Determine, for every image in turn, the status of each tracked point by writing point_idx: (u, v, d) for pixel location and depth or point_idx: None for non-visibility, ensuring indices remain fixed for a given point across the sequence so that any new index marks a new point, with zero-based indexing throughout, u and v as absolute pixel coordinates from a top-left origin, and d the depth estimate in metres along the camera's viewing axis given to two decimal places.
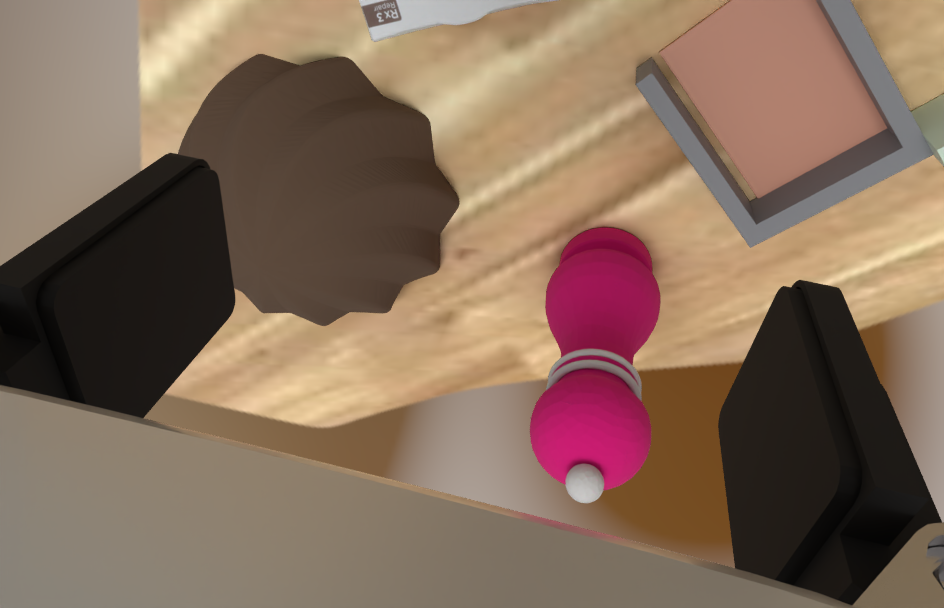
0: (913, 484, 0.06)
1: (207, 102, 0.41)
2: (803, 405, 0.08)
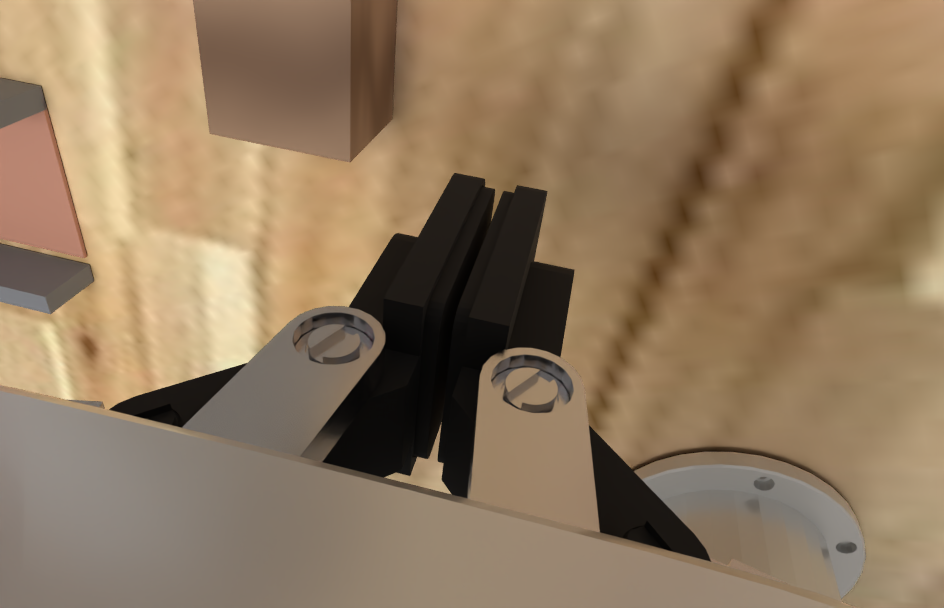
0: (504, 316, 0.08)
1: None
2: None
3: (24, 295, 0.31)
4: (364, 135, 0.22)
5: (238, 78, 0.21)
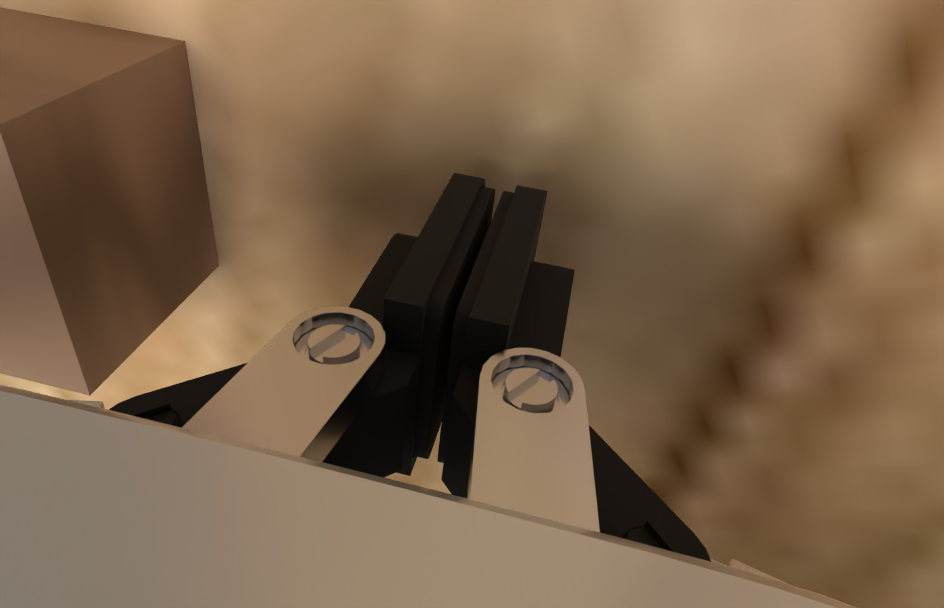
0: (503, 317, 0.08)
1: None
2: None
3: None
4: (131, 331, 0.12)
5: None
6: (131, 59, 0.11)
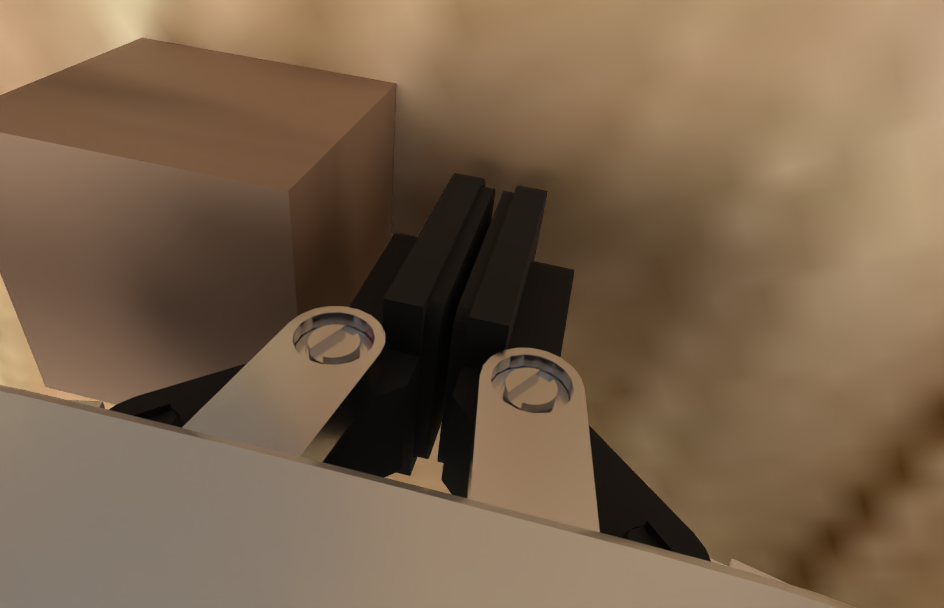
0: (503, 317, 0.08)
1: None
2: None
3: None
4: None
5: (80, 310, 0.10)
6: (360, 107, 0.11)
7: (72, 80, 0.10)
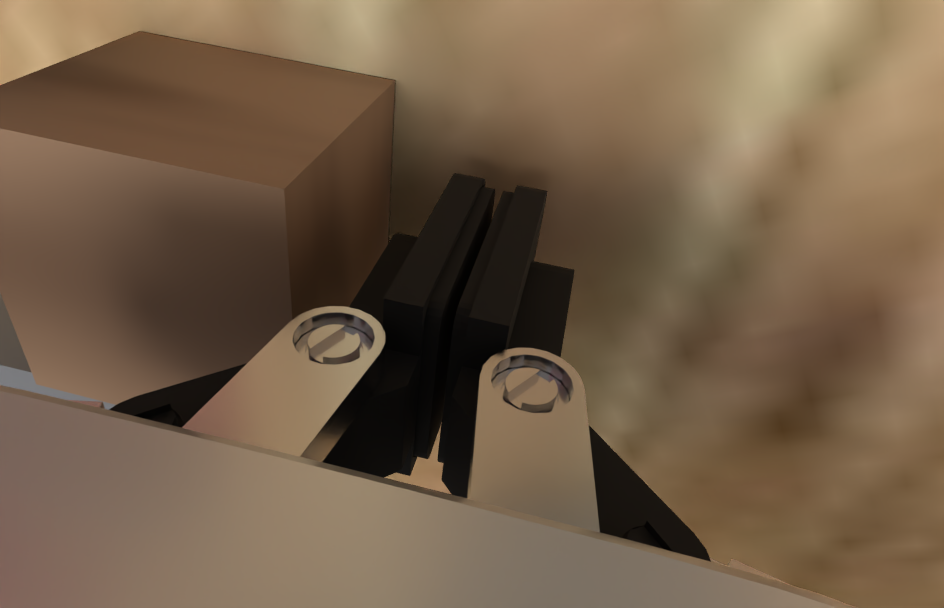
0: (504, 317, 0.08)
1: None
2: None
3: None
4: None
5: (70, 307, 0.10)
6: (357, 105, 0.11)
7: (65, 74, 0.10)
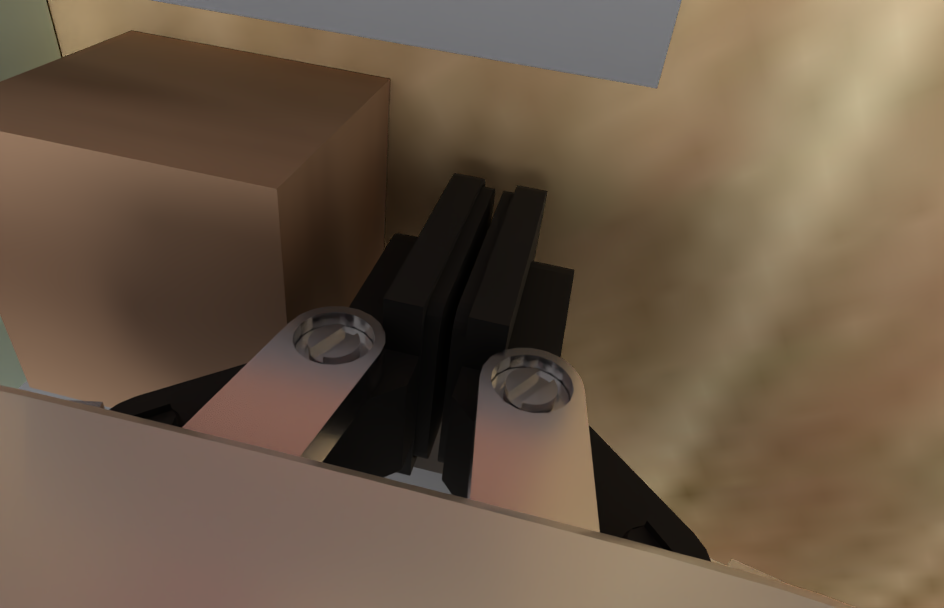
0: (504, 317, 0.08)
1: None
2: None
3: None
4: None
5: (63, 309, 0.10)
6: (352, 104, 0.11)
7: (56, 74, 0.10)
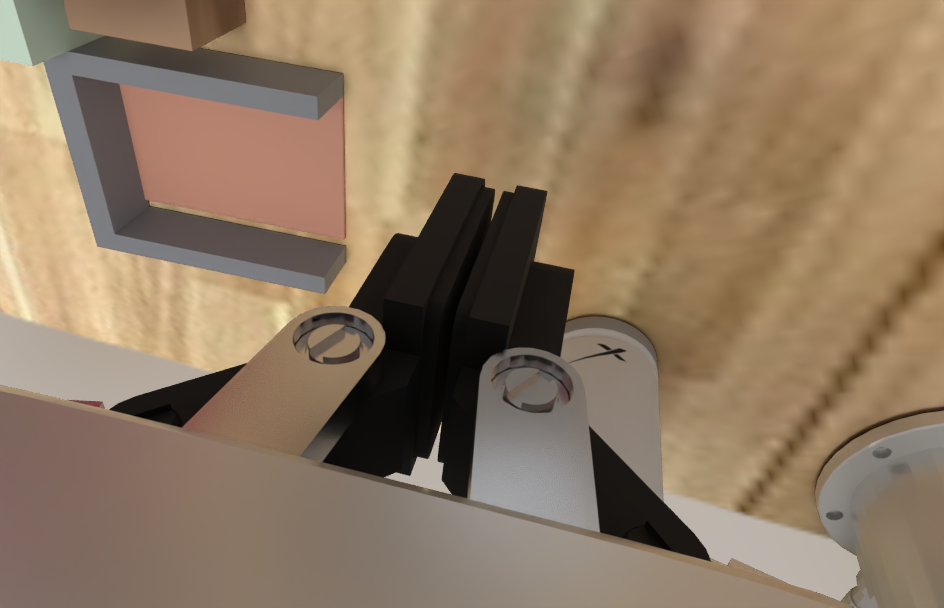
0: (504, 317, 0.08)
1: None
2: None
3: (302, 276, 0.32)
4: (208, 30, 0.26)
5: None
6: None
7: None
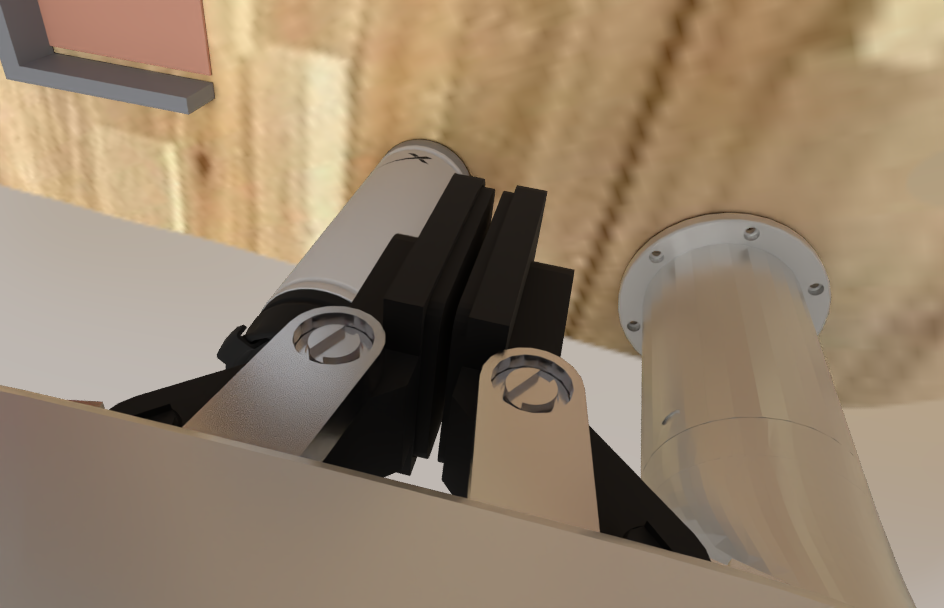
0: (504, 316, 0.08)
1: None
2: None
3: (169, 98, 0.39)
4: None
5: None
6: None
7: None
